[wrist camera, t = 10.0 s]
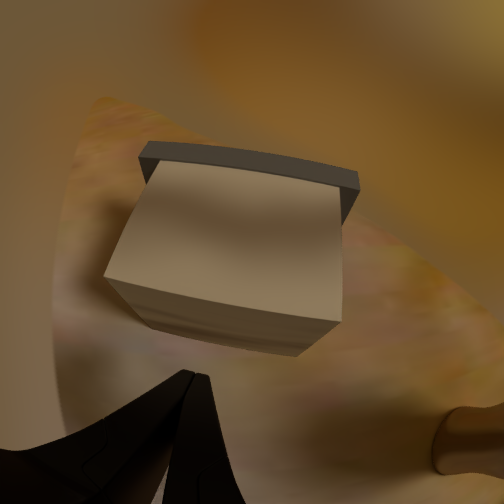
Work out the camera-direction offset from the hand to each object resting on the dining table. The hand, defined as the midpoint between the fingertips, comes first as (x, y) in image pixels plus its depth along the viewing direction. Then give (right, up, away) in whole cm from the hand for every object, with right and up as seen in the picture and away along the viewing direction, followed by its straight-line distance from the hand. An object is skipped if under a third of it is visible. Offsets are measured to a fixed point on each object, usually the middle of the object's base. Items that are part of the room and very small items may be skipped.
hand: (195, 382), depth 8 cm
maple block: (0, +1, +11) cm, 11 cm away
